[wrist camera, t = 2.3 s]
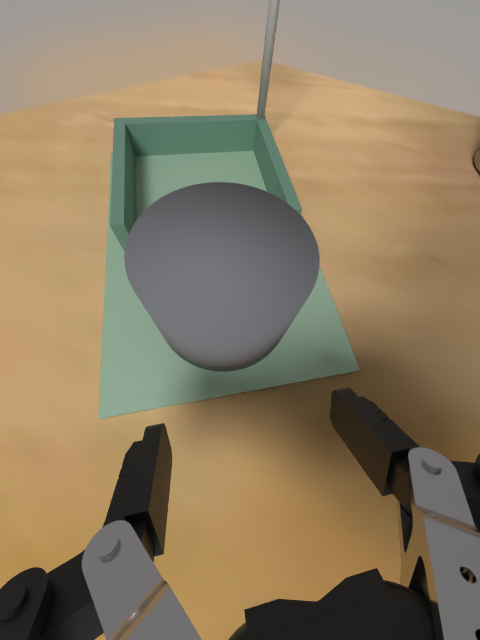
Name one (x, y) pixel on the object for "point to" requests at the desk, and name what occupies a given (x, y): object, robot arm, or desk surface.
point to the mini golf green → (161, 179)
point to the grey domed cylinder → (221, 271)
